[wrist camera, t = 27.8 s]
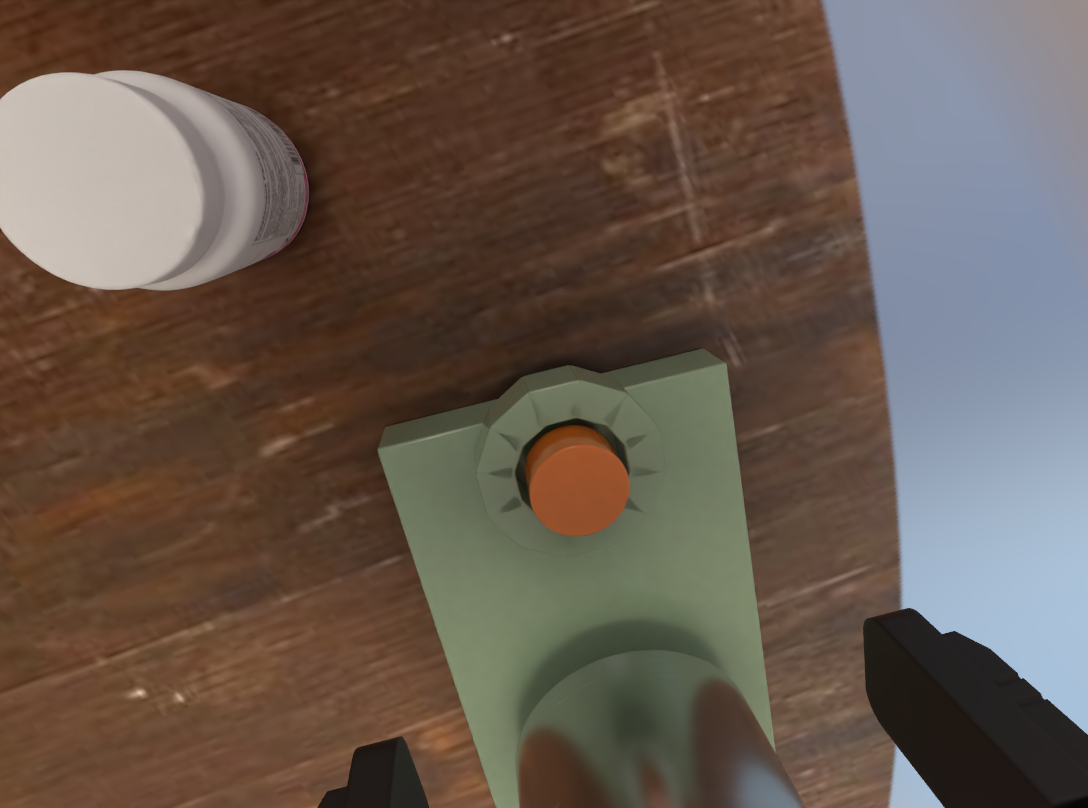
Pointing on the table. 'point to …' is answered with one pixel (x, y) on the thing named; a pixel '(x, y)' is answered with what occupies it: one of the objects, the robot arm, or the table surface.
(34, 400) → the table surface
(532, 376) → the base
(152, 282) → the pill bottle
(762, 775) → the kettle
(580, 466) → the orange push button
